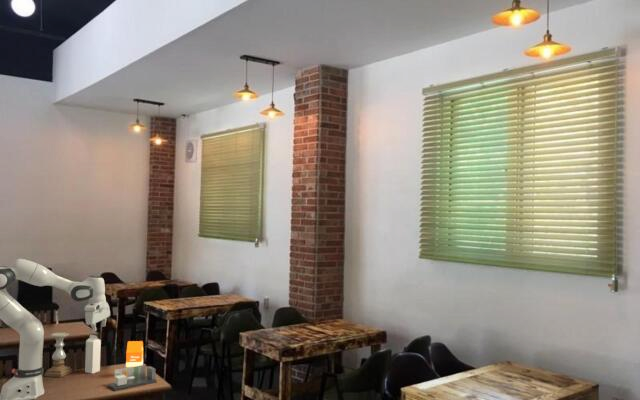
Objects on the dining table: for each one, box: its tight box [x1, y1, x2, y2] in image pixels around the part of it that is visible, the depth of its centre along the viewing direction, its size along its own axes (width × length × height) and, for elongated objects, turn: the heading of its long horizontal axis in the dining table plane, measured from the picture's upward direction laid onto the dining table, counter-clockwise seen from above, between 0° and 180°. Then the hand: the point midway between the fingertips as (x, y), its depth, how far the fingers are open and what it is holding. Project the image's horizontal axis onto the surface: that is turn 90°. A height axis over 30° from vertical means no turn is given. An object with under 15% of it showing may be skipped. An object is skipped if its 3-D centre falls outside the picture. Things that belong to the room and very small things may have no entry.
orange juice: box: [125, 340, 144, 368], centre depth 324 cm, size 8×9×20 cm
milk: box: [84, 334, 102, 374], centre depth 328 cm, size 6×6×22 cm
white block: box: [113, 375, 134, 386], centre depth 303 cm, size 10×7×4 cm, turn 132°
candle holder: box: [44, 331, 73, 378], centre depth 321 cm, size 11×11×24 cm
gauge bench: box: [107, 363, 158, 392], centre depth 306 cm, size 24×11×8 cm, turn 132°
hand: (99, 328), depth 302 cm, fingers open, 8 cm apart
